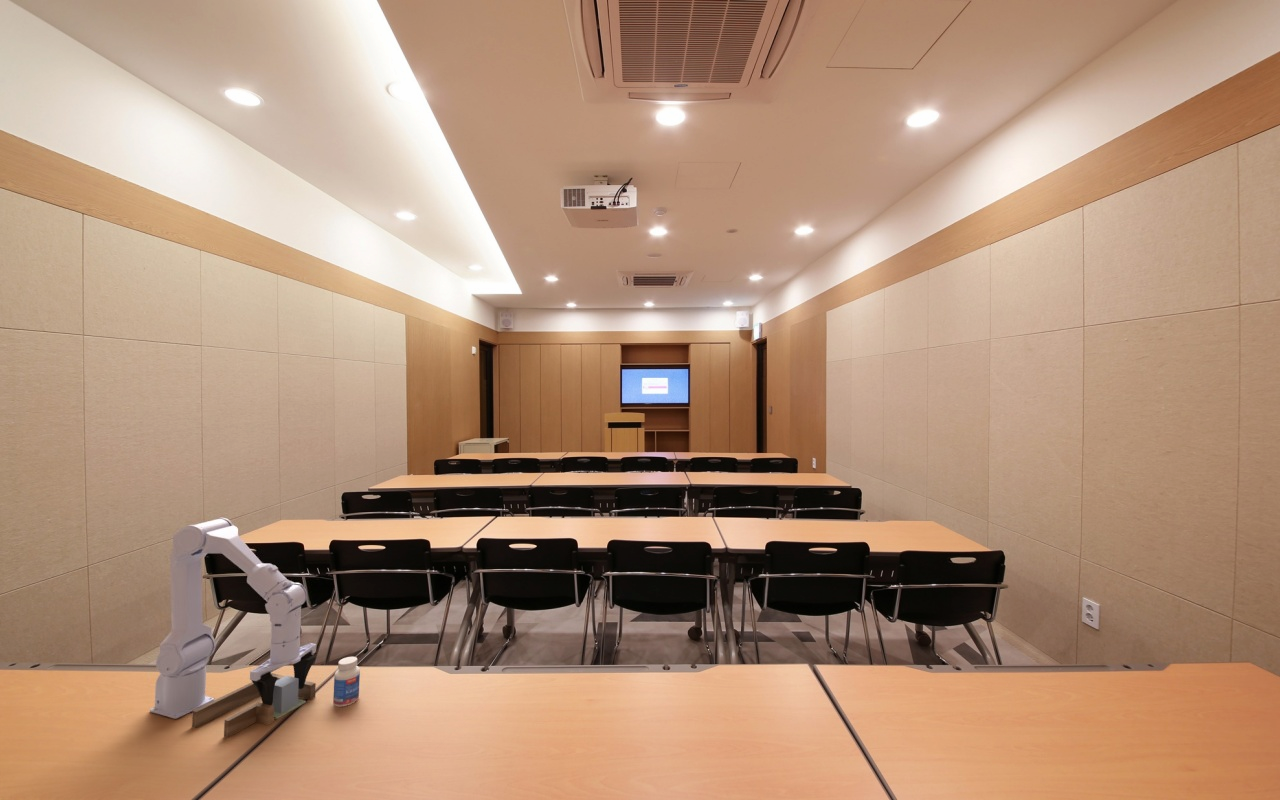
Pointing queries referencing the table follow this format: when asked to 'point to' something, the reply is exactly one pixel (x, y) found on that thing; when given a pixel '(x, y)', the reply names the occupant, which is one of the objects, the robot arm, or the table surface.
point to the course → (248, 715)
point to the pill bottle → (346, 682)
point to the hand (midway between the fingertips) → (283, 696)
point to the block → (285, 694)
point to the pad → (278, 715)
